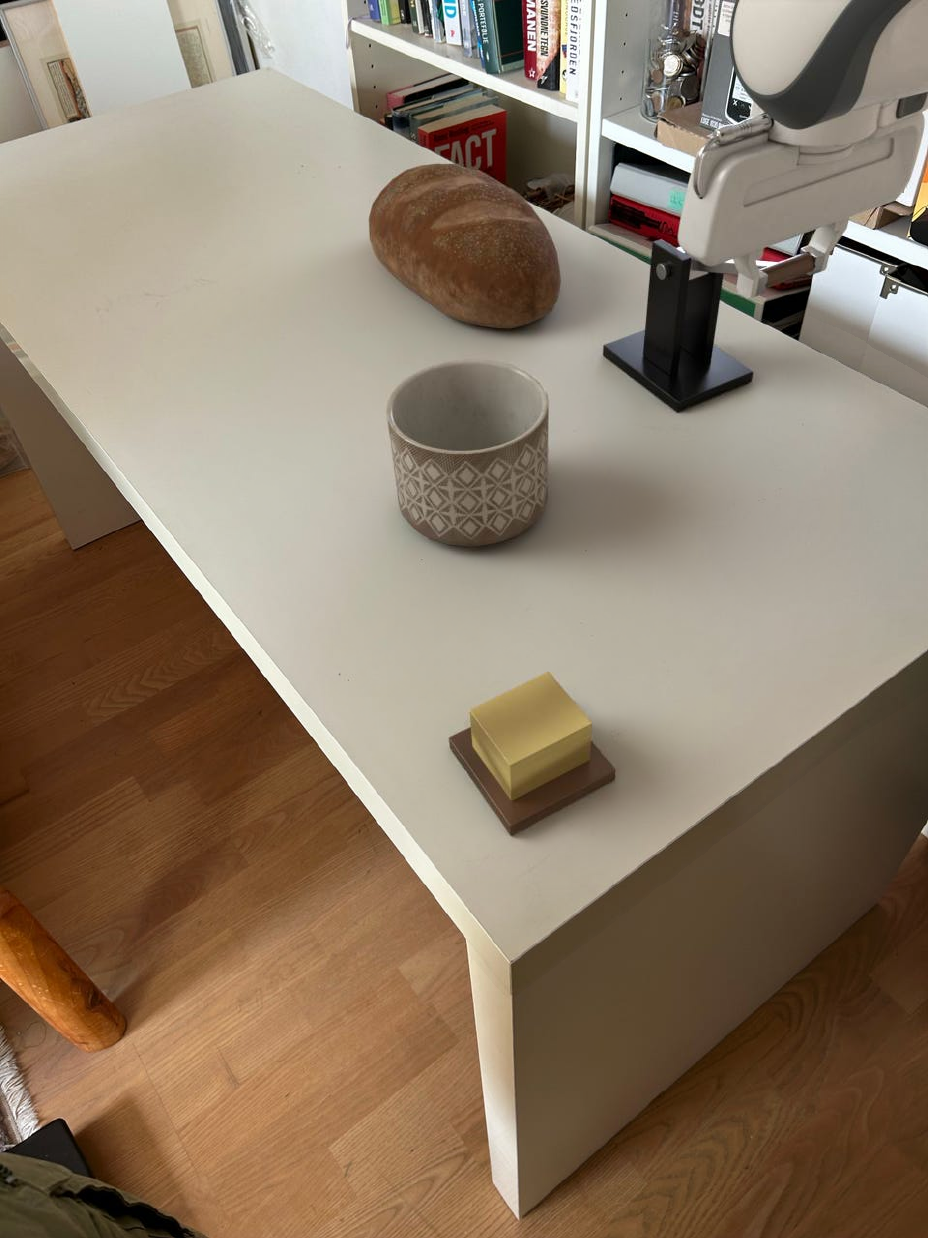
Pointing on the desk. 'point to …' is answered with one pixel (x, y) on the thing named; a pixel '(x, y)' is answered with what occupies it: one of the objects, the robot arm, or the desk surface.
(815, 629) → the desk surface
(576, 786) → the butter
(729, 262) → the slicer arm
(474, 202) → the bread
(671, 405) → the slicer
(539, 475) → the planter
